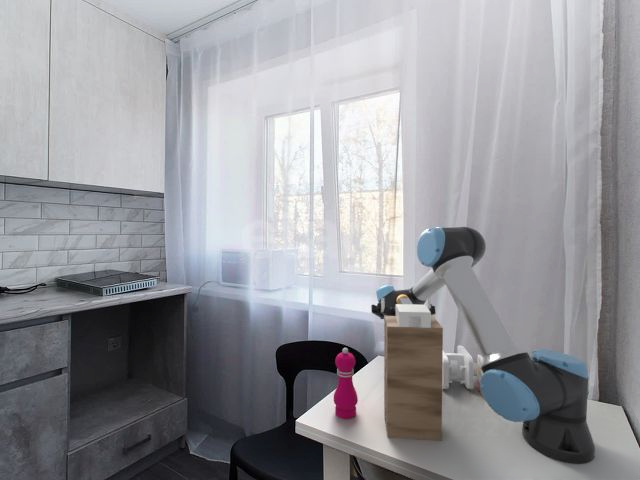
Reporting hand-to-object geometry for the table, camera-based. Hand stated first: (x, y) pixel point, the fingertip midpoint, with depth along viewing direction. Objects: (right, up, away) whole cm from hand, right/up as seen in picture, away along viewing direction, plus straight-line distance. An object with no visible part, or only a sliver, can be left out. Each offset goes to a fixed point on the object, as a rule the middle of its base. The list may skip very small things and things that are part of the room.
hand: (406, 302), depth 101 cm
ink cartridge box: (+30, -32, +9) cm, 45 cm away
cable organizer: (+21, -32, +17) cm, 42 cm away
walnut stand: (-1, -33, -8) cm, 34 cm away
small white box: (0, -4, -3) cm, 5 cm away
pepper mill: (-18, -33, -1) cm, 38 cm away
